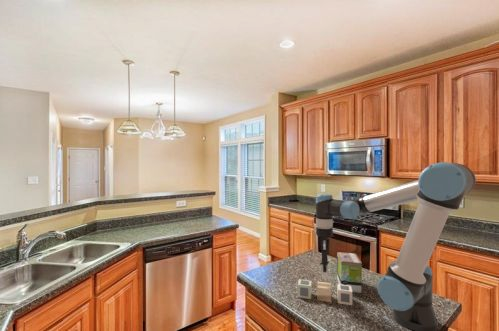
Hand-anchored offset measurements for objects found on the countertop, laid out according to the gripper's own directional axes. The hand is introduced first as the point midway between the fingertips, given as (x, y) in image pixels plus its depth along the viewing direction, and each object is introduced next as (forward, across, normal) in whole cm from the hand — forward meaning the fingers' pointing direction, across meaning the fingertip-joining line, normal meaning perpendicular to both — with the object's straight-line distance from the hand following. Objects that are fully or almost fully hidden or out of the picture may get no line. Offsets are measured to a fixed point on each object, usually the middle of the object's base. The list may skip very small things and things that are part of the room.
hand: (324, 278), depth 118 cm
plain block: (+9, 0, 0) cm, 9 cm away
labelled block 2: (+10, 0, -9) cm, 13 cm away
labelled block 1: (+9, 0, +9) cm, 13 cm away
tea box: (+10, +18, -12) cm, 23 cm away
